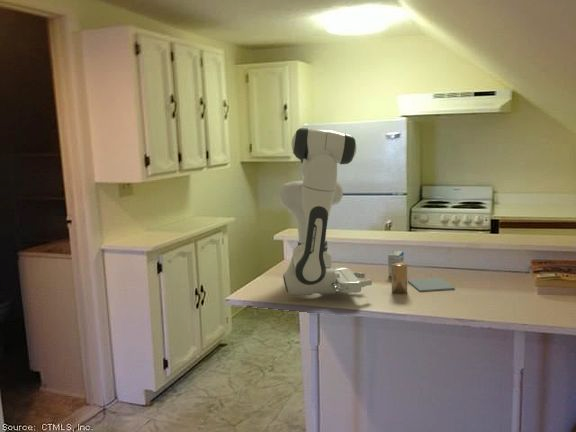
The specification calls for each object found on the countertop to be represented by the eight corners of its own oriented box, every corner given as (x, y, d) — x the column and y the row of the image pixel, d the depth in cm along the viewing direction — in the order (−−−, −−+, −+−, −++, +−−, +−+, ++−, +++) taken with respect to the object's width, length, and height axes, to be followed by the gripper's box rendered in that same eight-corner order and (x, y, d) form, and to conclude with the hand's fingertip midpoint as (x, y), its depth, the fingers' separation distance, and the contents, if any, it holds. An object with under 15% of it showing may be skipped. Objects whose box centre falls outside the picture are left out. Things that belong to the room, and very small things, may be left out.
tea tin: (389, 290, 190) (389, 263, 189) (404, 289, 191) (404, 262, 189) (394, 294, 185) (394, 267, 183) (409, 293, 185) (409, 266, 184)
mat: (407, 281, 200) (407, 280, 200) (440, 279, 201) (440, 277, 201) (419, 291, 187) (419, 290, 187) (454, 289, 188) (454, 287, 188)
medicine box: (399, 277, 206) (399, 255, 205) (388, 276, 208) (388, 254, 207) (403, 271, 213) (403, 251, 212) (393, 271, 215) (393, 250, 214)
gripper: (334, 280, 174) (375, 277, 175) (324, 265, 194) (360, 263, 195) (335, 298, 174) (375, 295, 176) (324, 281, 195) (361, 279, 196)
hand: (367, 278), depth 186 cm, fingers open, 8 cm apart
